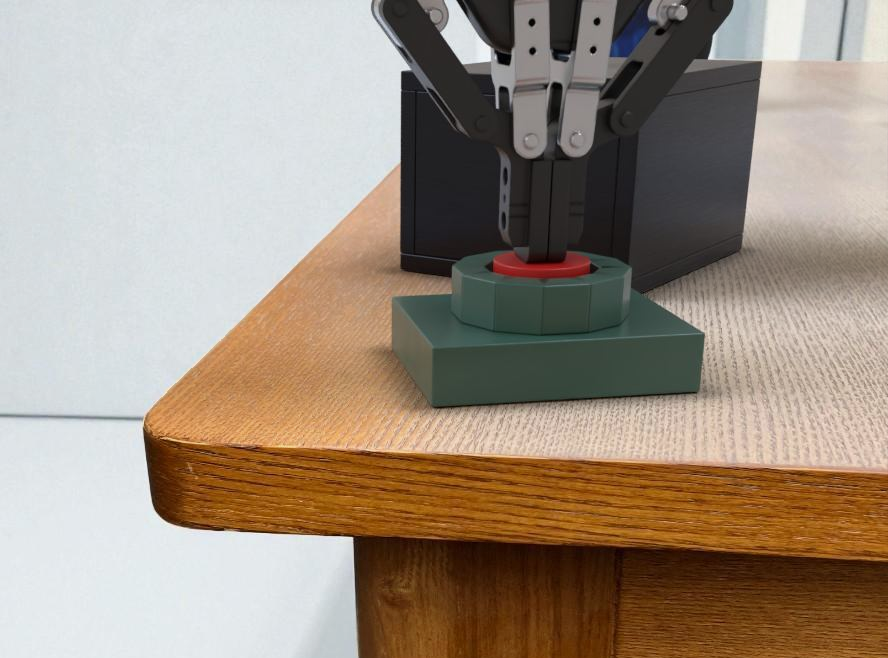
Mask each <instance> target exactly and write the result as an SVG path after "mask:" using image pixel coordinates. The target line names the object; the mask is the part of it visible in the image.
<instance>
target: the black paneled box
mask: <svg viewBox="0 0 888 658" xmlns="http://www.w3.org/2000/svg"><path fill="white" fill-rule="evenodd" d="M626 59H627V58H624V57H609V64H608V71H607V78H606V82H605V84H604V86H603V88H602V89H601V91H600V93H601V92H602V90H603V89H604V88H605V87H606V85H607V84H608V83H609V81H610V80H611V79H612V77H613V76H614V75H615V74H616V72H617V71H618V70H619V68H620V67H621V66H622V64H623V63H624V62H625V60H626ZM462 65H463V66H464V67H465V69H466V70H467V72H468V73H469V75H470V76H471V77H472V79H473V80H474V82H475V83H476V85H477V86H478V87H479V89H480V90H481V92H482V93H483V95H484V96H485V97H486V99H487V100H488V102H489V103H490V104H491V106H492V107H495V108H496V93H495V86H494V83H493V80H492V74H491V60H489V61H482V62H481V61H480V62H472V63H462ZM762 68H763V61H762V60H745V59H744V60H739V59H738V60H737V59H708V60H704V59H694V60H693V62H692V63H691V64H690V65H689V67H688V68H687V69H686V70H685V72H684V73H683V74H682V76H681V77H680V78H679V79H678V81H677V82H676V83H675V85H674V86H673V87H672V88H671V90H670V91H669V92H668V94H667V95H666V96H665V97H664V99H663V100H662V101H661V102H660V104H659V105H658V106H657V108H656V109H655V110H654V111H653V113H652V114H651V115H650V117H649V118H648V119H647V120H646V122H645V123H644V124H643V125H642V127H641V128H640V129H639V130H638V132H637V133H635V134H634V135H632V136H629V137H622V136H621V137H619V138H616V139H614V140H611V141H609V142H607V143H604V144H602V145H600V146H598V147H597V148H596V149H595V150H594V151H593V152H592V153H591V155H590V157H589V159H588V163H587V174H586V190H585V203H584V205H585V206H584V215H583V216H584V221H583V232H582V234H581V237H580V239H579V241H578V244H577V245H568V246H567V251H577V252H585V253H590V254H595V255H600V256H605V257H611V258H616V259H618V260H620V261H621V262H623V263H625V264H627V265H628V266H630V267H632V277H631V288H632V289H634V290H636V291H637V292H639V293H640V294H644V293H645V292H648V291H650V290H652V289H655V288H657V287H659V286H661V285H664V284H666V283H669V282H670V281H673V280H675V279H677V278H679V277H682V276H684V275H686V274H689V273H691V272H693V271H695V270H698V269H700V268H702V267H704V266H707V265H709V264H711V263H713V262H715V261H718V260H720V259H722V258H725V257H726V256H727V257H728V256H729V255H732V254H734V253H736V252H739V251H741V250H742V247H743V238H744V232H745V221H746V214H747V204H748V195H749V185H750V177H751V168H752V160H753V159H752V158H753V149H754V143H755V142H754V140H755V131H756V125H757V124H756V122H757V114H758V103H759V95H760V85H761V78H762V71H763V69H762ZM500 176H501V158H500V154H499V152H498V150H497V149H496V148H495V147H494V146H493V145H491V144H488V143H485V142H479V141H475V140H473V139H471V138H470V137H468V136H467V135H463V134H461V133H459V132H457V131H456V130H455V129H454V128H453V127H452V125H451V124H450V123H449V121H448V120H447V118H446V117H445V116H444V114H443V113H442V111H441V110H440V109H439V107H438V106H437V105H436V103H435V102H434V100H433V99H432V98H431V96H430V95H429V93H428V92H427V91H426V89H425V88H424V87H423V85H422V84H421V82H420V81H419V80H418V78H417V77H416V76H415V74H414V73H413V71H412V70H411V69H406V70H401V71H400V176H399V177H400V182H399V183H400V185H399V188H400V189H399V190H400V191H399V192H400V194H399V195H400V197H399V198H400V199H399V202H400V204H399V209H400V210H399V215H400V216H399V229H400V230H399V248H400V249H399V250H400V251H399V252H400V255H399V257H400V259H399V260H400V262H399V263H400V264H399V265H400V266H399V268H400V270H401V271H407V272H414V273H420V274H428V275H429V274H430V275H436V276H443V277H450V278H452V265H454V264H455V263H457V262H458V261H460V260H461V259H463V258H464V257H467V256H472V255H478V254H483V253H489V252H494V251H510V250H514V249H513V247H512V246H510V245H509V244H507V243H506V242H505V241H503V238H502V236H501V233H500V230H499V212H500V211H499V203H500Z"/></svg>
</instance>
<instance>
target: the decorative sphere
mask: <svg viewBox="0 0 888 658" xmlns="http://www.w3.org/2000/svg"><path fill="white" fill-rule="evenodd" d="M651 2H652V0H645V2H644V3H643V4H642V6H641V7H640V9H639V10H638V12H637V13H636V14H635V16H634V17H633V19H632V20H631V21H630V23H629V24H628V26H627V27H626V28H625V30H624V31H623V33H622V34H621V35H620V36H619V38H618V39H617V40H616V41H615V42H613V43H612V44H611V49H610V56H609V57H624V58H628V57H629V55H630V54H631V53H632V51H633V50H634V49H635V47H636V46H637V45H638V44H639V42H640V41H641V40H642V38H643V37H644V36H645V34H646V33H647V32H648V31H649V29H650V28H651V27H652V25H651V24H650V22H649V19H648V9H649V6H650V4H651ZM713 39H714V35H713V36H712V37H711V39H710V40H709V41H708V42H707V44H706V45H705V46H704V47H703V49H702V50H701V51H700V53H699V54H698V55H697V56H696V58H695V59H704V60H709V57H710V54H711V50H712V47H713V46H712V45H713Z"/></svg>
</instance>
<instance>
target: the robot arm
mask: <svg viewBox="0 0 888 658" xmlns="http://www.w3.org/2000/svg"><path fill="white" fill-rule="evenodd" d="M455 1H456V2H457V4H458V6H459V7H460V9H461V10H462V12H463V14H464V15H465V17H466V19H467V20H468V22H469V23H470V24H471V26H472V28H473V29H474V31H475V33H476V34H477V36H478V37H479V38H480V40H481V41H482V42H483V43H485V44H486V45H487V46H488V47H490V61H491V74H492V80H493V83H494V86H495V93H496V108H495V107H492V106H491V104H490V103H489V102H488V100H487V99H486V97H485V96H484V95H483V93H482V92H481V90H480V89H479V87H478V86H477V85H476V83H475V82H474V80H473V79H472V77H471V76H470V75H469V73H468V72H467V70H466V69H465V67H464V66H463V65H462V64H463V63H462V62H461V60H460V59H459V57H458V56H457V54H456V53H455V52H454V50H453V49H452V47H451V46H450V44H449V43H448V42H447V40H446V39H445V37H444V36H443V35H442V32H443V31H444V30H445V28H446V27H447V25H448V23H449V20H450V19H449V18H450V12H449V8H448V6H447V4H446V2H445V0H371V3H370V12H371V16H372V17H373V19H374V20H375V22H376V23H377V25H378V26H379V27H380V29H381V30H382V32H383V33H384V34H385V35H386V37H387V39H388V40H389V41H390V42H391V44H392V45H393V47H394V48H395V49H396V51H397V52H398V53H399V55H400V56H401V58H402V59H403V60H404V62H405V63H406V64H407V66H408V67H409V70H412V71H413V73H414V74H415V76H416V77H417V78H418V80H419V81H420V82H421V84H422V85H423V87H424V88H425V89H426V91H427V92H428V93H429V95H430V96H431V98H432V99H433V100H434V102H435V103H436V105H437V106H438V107H439V109H440V110H441V111H442V113H443V114H444V116H445V117H446V118H447V120H448V121H449V123H450V124H451V125H452V127H453V128H454V129H455V130H456V131H457V132H459V133H461V134H463V135H467V136H468V137H470V138H471V139H473V140H475V141H479V142H485V143H488V144H491V145H493V146H494V147H495V148H496V149H497V150H498V152H499V154H500V158H501V176H500V203H499V211H500V212H499V230H500V233H501V236H502V238H503V241H505V242H506V243H507V244H509V245H510V246H512V247H513V249H514V254H515V256H516V257H518V258H519V259H520V260H522V261H523V262H524V263H539V262H563V261H564V260H565V258H566V254H567V246H568V245H577V244H578V241H579V239H580V237H581V234H582V232H583V221H584V216H583V215H584V206H585V205H584V203H585V190H586V174H587V163H588V159H589V157H590V155H591V153H592V152H593V151H594V150H595V149H596V148H597V147H598V146H600V145H602V144H604V143H607V142H609V141H611V140H614V139H616V138H619V137H621V136H622V137H629V136H632V135H634V134H635V133H637V132H638V130H639V129H640V128H641V127H642V125H643V124H644V123H645V122H646V120H647V119H648V118H649V117H650V115H651V114H652V113H653V111H654V110H655V109H656V108H657V106H658V105H659V104H660V102H661V101H662V100H663V99H664V97H665V96H666V95H667V94H668V92H669V91H670V90H671V88H672V87H673V86H674V85H675V83H676V82H677V81H678V79H679V78H680V77H681V76H682V74H683V73H684V72H685V70H686V69H687V68H688V67H689V65H690V64H691V63H692V62H693V60H694V59H695V58H696V56H697V55H698V54H699V53H700V51H701V50H702V49H703V47H704V46H705V45H706V44H707V42H708V41H709V40H710V39H711V37H712V36H713V37H714V35H715V34H716V33H717V32H718V29H719V28H720V27H721V26H722V25H723V24H724V22H725V21H726V20H727V18H728V17H729V16H730V14H731V13H732V11H733V8H734V3H735V1H734V0H652V2H651V4H650V6H649V9H648V19H649V22H650V24H651V25H652V27H651V28H650V29H649V31H648V32H647V33H646V34H645V36H644V37H643V38H642V40H641V41H640V42H639V44H638V45H637V46H636V47H635V49H634V50H633V51H632V53H631V54H630V55H629V57H628V58H627V59H626V60H625V62H624V63H623V64H622V66H621V67H620V68H619V70H618V71H617V72H616V74H615V75H614V76H613V77H612V79H611V80H610V81H609V83H608V84H607V85H606V87H605V88H604V89H603V90H602V92H601V93H600V91H601V89H602V88H603V86H604V84H605V82H606V78H607V71H608V64H609V56H610V49H611V44H612V43H613V42H615V41H616V40H617V39H618V38H619V36H620V35H621V34H622V33H623V31H624V30H625V28H626V27H627V26H628V24H629V23H630V21H631V20H632V19H633V17H634V16H635V14H636V13H637V12H638V10H639V9H640V7H641V6H642V4H643V3H644V2H645V0H455Z"/></svg>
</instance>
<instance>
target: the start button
mask: <svg viewBox="0 0 888 658" xmlns="http://www.w3.org/2000/svg"><path fill="white" fill-rule="evenodd" d="M493 272H494V273H498V274H503V275H507V276H512V277H527V278H541V279H550V278H572V277H578V276H582V275H587V274H590V259H589V258H587V257H585V256H583V255H580V254H576V253H570V252H567V254H566V258H565V260H564V261H563V262H539V263H524V262H523V261H522V260H520V259H519V258H518V257H516V256H515V254H514V252H508V253H504V254H500V255H498V256H496V257H495V258H494V260H493Z"/></svg>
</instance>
